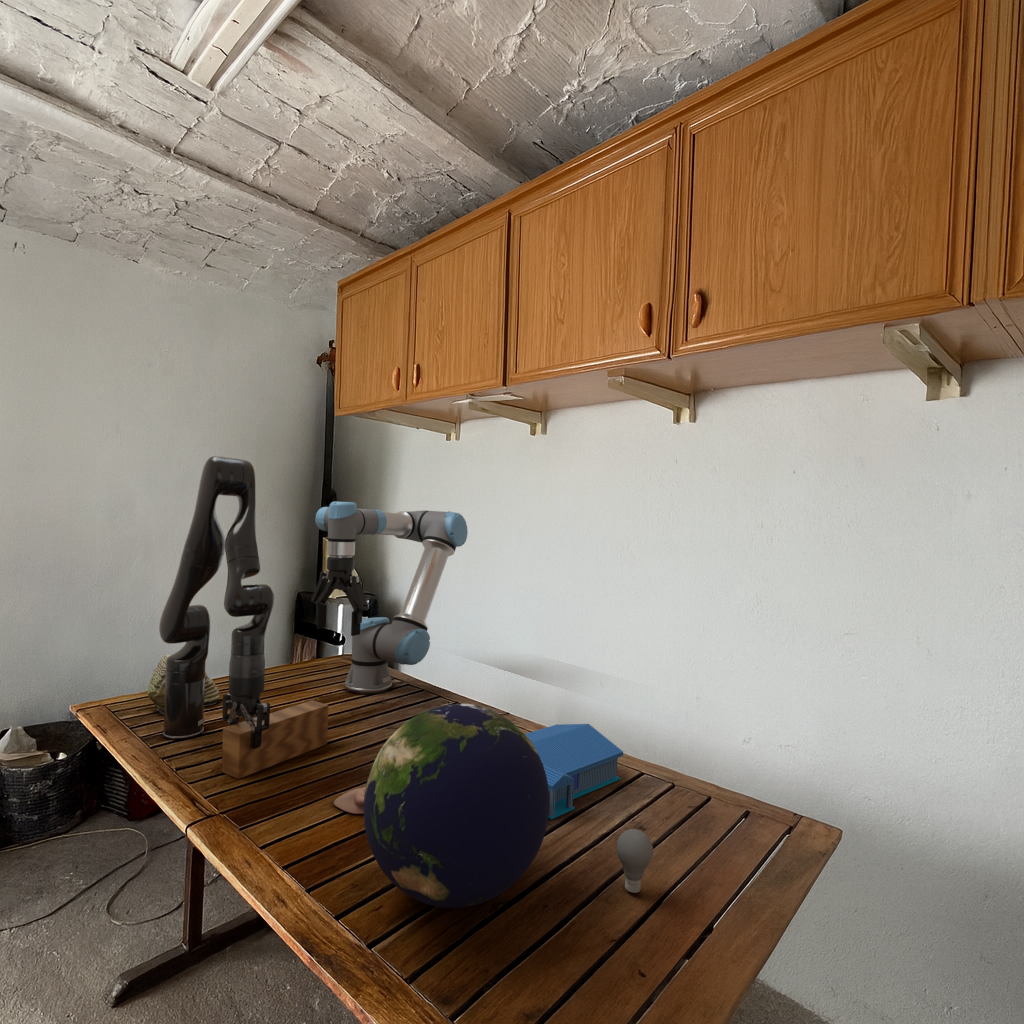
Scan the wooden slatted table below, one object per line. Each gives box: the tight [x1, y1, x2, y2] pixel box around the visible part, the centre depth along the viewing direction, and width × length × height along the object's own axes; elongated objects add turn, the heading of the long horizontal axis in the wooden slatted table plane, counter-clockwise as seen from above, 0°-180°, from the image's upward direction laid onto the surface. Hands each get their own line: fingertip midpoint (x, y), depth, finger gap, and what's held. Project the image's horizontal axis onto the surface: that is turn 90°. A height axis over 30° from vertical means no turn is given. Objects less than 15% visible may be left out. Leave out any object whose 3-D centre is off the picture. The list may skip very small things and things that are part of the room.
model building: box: [524, 723, 624, 820], centre depth 142 cm, size 39×24×10 cm, turn 132°
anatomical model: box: [333, 786, 366, 815], centre depth 132 cm, size 13×4×12 cm
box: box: [221, 699, 330, 780], centre depth 153 cm, size 26×6×10 cm, turn 148°
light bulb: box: [615, 828, 654, 894], centre depth 106 cm, size 6×6×10 cm
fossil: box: [147, 654, 221, 711], centre depth 185 cm, size 9×18×15 cm, turn 132°
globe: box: [363, 703, 549, 909], centre depth 103 cm, size 30×30×30 cm
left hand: (244, 743), depth 145 cm, fingers open, 7 cm apart
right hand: (338, 631), depth 179 cm, fingers open, 13 cm apart
